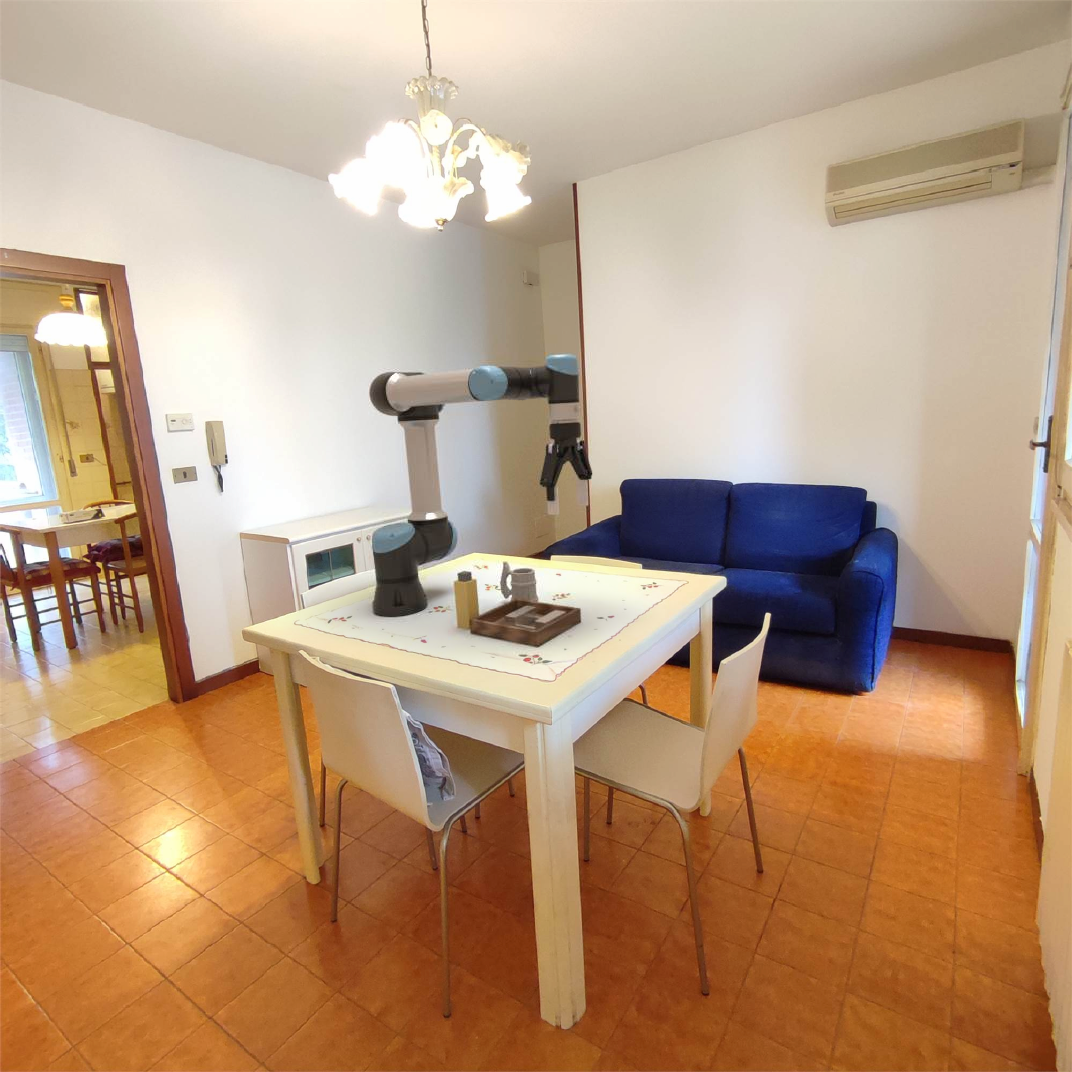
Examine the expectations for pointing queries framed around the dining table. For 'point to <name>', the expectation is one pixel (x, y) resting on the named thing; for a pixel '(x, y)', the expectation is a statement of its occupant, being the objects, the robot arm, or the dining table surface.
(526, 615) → the inlet
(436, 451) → the robot arm
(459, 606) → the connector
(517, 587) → the mug
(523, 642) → the box
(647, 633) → the dining table surface
